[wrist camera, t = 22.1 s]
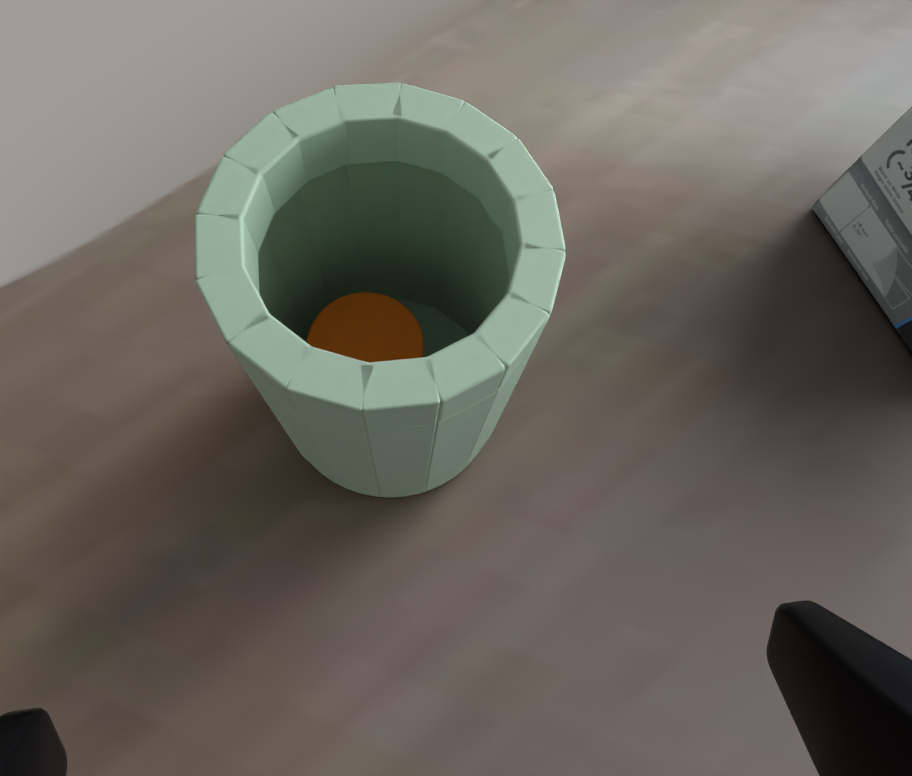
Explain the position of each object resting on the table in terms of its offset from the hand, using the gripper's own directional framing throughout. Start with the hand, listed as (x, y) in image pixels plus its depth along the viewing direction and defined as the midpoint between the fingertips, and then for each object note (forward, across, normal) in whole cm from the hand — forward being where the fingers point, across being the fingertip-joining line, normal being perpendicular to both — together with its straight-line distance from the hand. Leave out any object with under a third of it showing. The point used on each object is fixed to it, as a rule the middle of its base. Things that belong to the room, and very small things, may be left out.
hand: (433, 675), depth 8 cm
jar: (+15, 0, +4) cm, 16 cm away
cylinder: (+15, +1, +3) cm, 15 cm away
